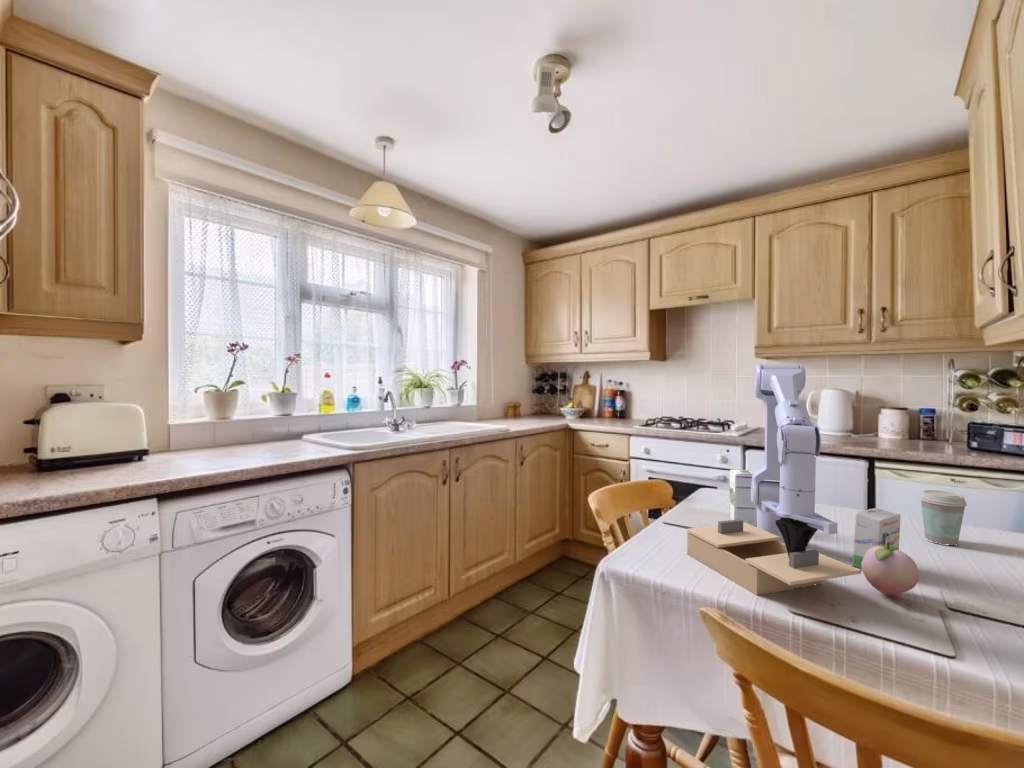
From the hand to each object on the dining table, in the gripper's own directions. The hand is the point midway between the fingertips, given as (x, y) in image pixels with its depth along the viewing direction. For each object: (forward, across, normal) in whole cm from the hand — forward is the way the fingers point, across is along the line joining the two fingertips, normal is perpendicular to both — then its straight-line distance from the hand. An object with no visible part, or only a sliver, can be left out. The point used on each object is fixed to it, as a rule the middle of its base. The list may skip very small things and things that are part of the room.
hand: (795, 559), depth 86 cm
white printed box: (+7, -35, +21) cm, 42 cm away
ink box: (+7, -4, +27) cm, 28 cm away
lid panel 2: (+1, +1, 0) cm, 2 cm away
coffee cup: (+7, -10, +58) cm, 59 cm away
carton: (+6, -11, 0) cm, 13 cm away
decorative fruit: (+7, +6, +16) cm, 18 cm away
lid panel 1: (+1, -16, 0) cm, 16 cm away
